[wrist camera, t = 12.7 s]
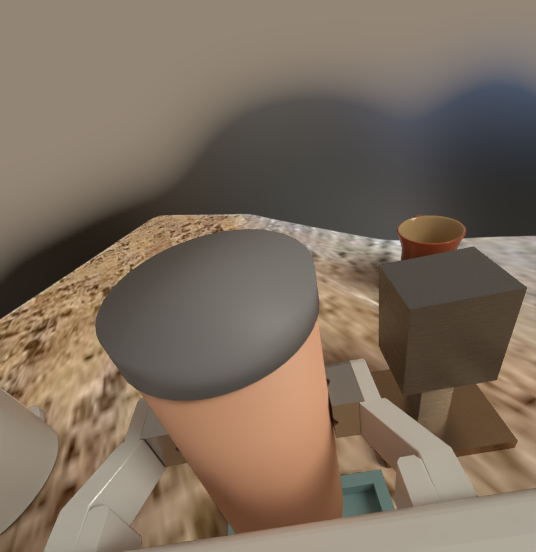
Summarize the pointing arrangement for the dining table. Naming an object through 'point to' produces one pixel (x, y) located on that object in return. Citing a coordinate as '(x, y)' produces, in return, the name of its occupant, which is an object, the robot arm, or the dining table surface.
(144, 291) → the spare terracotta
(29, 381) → the dining table surface
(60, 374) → the dining table surface
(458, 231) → the mug
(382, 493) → the tray
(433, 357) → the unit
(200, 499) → the dining table surface
